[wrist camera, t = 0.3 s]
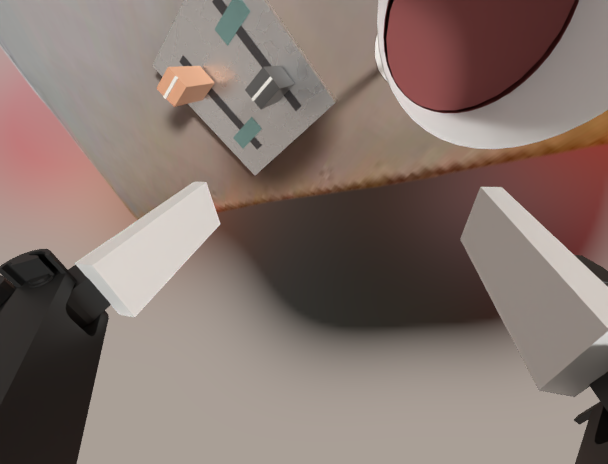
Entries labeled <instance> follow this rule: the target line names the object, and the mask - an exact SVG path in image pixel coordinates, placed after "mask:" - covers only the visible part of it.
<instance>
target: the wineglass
mask: <svg viewBox="0 0 608 464" xmlns="http://www.w3.org/2000/svg"><path fill="white" fill-rule="evenodd" d="M377 32H378V34H377V37H376V41H375V59H376V63H377V66H378V70H379V71H380V73H381V74H382V76H383V77H384V79H385V80H386V81H388V84H389V86H390V88H391V90H392V91H393V93H394V95H395V97H396V98H397V100H398V102H399V103H400V105H401V106H402V108H403V109H404V110H405V111H406V112H407V114H408V115H409V116H410V117H411V118H412V119H413V120H414V121H415V122H416V123H417V124H418V125H420V126H421V127H422V128H423V129H425V130H426V131H427V132H429V133H431V134H433V135H434V136H436V137H438V138H440V139H442V140H445V141H448V142H450V143H453V144H456V145H460V146H465V147H471V148H478V149H501V148H510V147H518V146H522V145H527V144H531V143H536V142H540V141H542V140H545V139H548V138H551V137H554V136H557V135H560V134H562V133H565V132H567V131H569V130H571V129H573V128H575V127H577V126H579V125H582V124H584V123H586V122H588V121H590V120H591V119H593V118H595V117H596V116H598V115H600V114H601V113H603V112H605V111H606V110H608V0H378V16H377Z"/></svg>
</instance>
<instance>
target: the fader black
mask: <svg viewBox="0 0 608 464" xmlns="http://www.w3.org/2000/svg"><path fill="white" fill-rule="evenodd" d="M293 85H294V82H293V81H292V80H291V78H290V77H289V76H288V74H287V73H286V72H285V70H284V69H283V67H282V66H267V67H263V68H262V69H261V70H260V71H259V73H258V74H257V75H256V76H255V78H254V79H253V80H252V81H251V83H250V84H249V85H248V87H247V88H246V89H245V91H246V92H247V93H248V95H249V96H250V97H251V98H252V101H254V102H255V103H256V104H257V106H258V107H259V108H260V109H261V110H262V109H264V108H266V107H268V106H270V105H272V104H275V103H277V102H278V101H279V100H280V99H281V98H282V97H283V96H284V95H285V94H286V93H287V92H288V90H289V89H290V88H291V87H292V86H293Z"/></svg>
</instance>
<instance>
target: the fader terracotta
mask: <svg viewBox="0 0 608 464" xmlns="http://www.w3.org/2000/svg"><path fill="white" fill-rule="evenodd" d="M213 85H214V81H213V80H212V79H211V78H210V77H209V76H208V74H207V73H206V72H205V71H204V70H203V69H202V68H201V66H178V67H168V68H167V69H166V71H165V73H164V75H163V77H162V79H161V81H160V83H159V85H158V86H157V90H158V91H159V92H160V93H161V94H162V95H163V97H164V98H165V99H167V100H168V101H169V102H170V103H171V104H172V105H173V106H174V107H176V106H180V105H184V104H188V103H193V102H197V101H201V100H203V99H204V98H205V96H206V95H207V93H208V92H209V91H210V89H211V88H212V86H213Z"/></svg>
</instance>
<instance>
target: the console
mask: <svg viewBox="0 0 608 464" xmlns="http://www.w3.org/2000/svg"><path fill="white" fill-rule="evenodd" d="M152 66H153V67H154V68H155V69H156V70H157V71H158V73H159V74H160V75H161V76H162V77H163V75H164V73H165V71H166V69H167V68H168V67H178V66H201V68H202V69H203V70H204V71H205V72H206V73H207V74H208V76H209V77H210V78H211V79H212V80H213V81H214V85H213V86H212V88H211V89H210V91H209V92H208V93H207V95H206V96H205V98H204V99H203V100H201V101H197V102H193V103H188V105H189V106H190V107H191V108H192V109H193V110H194V111H195V112H196V113H197V114H198V115H199V116H200V118H201V119H202V120H203V121H204V122H205V123H206V124H207V125H208V126H209V127H210V128H211V129H212V130H213V131H214V132H215V134H216V135H217V136H218V137H219V138H220V139H221V140H222V141H223V142H224V143H225V144H226V145H227V146H228V147H229V149H230V150H231V151H232V152H233V153H234V154H235V155H236V156H237V157H238V158H239V159H240V160H241V161H242V162H243V164H244V165H245V166H246V167H247V168H248V169H249V170H250V171H251V172H252V173H253V174H254V175H256V174H257V173H259V172H260V171H261V170H262V169H263V168H264V167H265V166H266V165H267V164H268V163H270V162H271V161H272V160H273V159H274V158H275V157H276V156H277V155H278V154H279V153H281V152H282V151H283V150H284V149H285V148H286V147H287V146H288V145H289V144H291V143H292V142H293V141H294V140H295V139H296V138H297V137H298V136H299V135H300V134H302V133H303V132H304V131H305V130H306V129H307V128H308V127H309V126H310V125H311V124H313V123H314V122H315V121H316V120H317V119H318V118H319V117H320V116H321V115H323V114H324V113H325V112H326V111H327V110H328V109H329V108H330V107H331V106H332V105H334V104H335V103H336V101H337V100H336V99H335V97H334V96H333V94H332V93H331V91H330V90H329V88H328V87H327V85H326V84H325V82H324V81H323V80H322V78H321V77H320V75H319V74H318V72H317V71H316V69H315V68H314V66H313V65H312V64H311V62H310V61H309V59H308V58H307V56H306V55H305V53H304V52H303V50H302V49H301V48H300V46H299V45H298V43H297V42H296V40H295V39H294V37H293V36H292V34H291V33H290V32H289V30H288V29H287V27H286V26H285V24H284V23H283V21H282V20H281V18H280V17H279V15H278V14H277V13H276V11H275V10H274V8H273V7H272V5H271V4H270V2H269V1H268V0H184V1H183V3H182V5H181V7H180V10H179V12H178V14H177V16H176V18H175V20H174V22H173V24H172V26H171V28H170V30H169V32H168V34H167V36H166V38H165V41H164V43H163V45H162V47H161V49H160V51H159V53H158V55H157V57H156V59H155V61H154V63H153V65H152ZM267 66H282V67H283V69H284V70H285V72H286V73H287V74H288V76H289V77H290V78H291V80H292V81H293V82H294V85H293V86H292V87H291V88H290V89H289V90H288V92H287V93H286V94H285V95H284V96H283V97H282V98H281V99H280V100H279V101H278V102H277V103H275V104H272V105H270V106H268V107H266V108H264V109H262V110H261V109H260V108H259V107H258V106H257V104H256V103H255V102H254V101H252V98H251V97H250V96H249V95H248V93H247V92H246V91H245V89H246V88H247V87H248V85H249V84H250V83H251V81H252V80H253V79H254V78H255V76H256V75H257V74H258V73H259V71H260V70H261V69H262V68H263V67H267Z"/></svg>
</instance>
